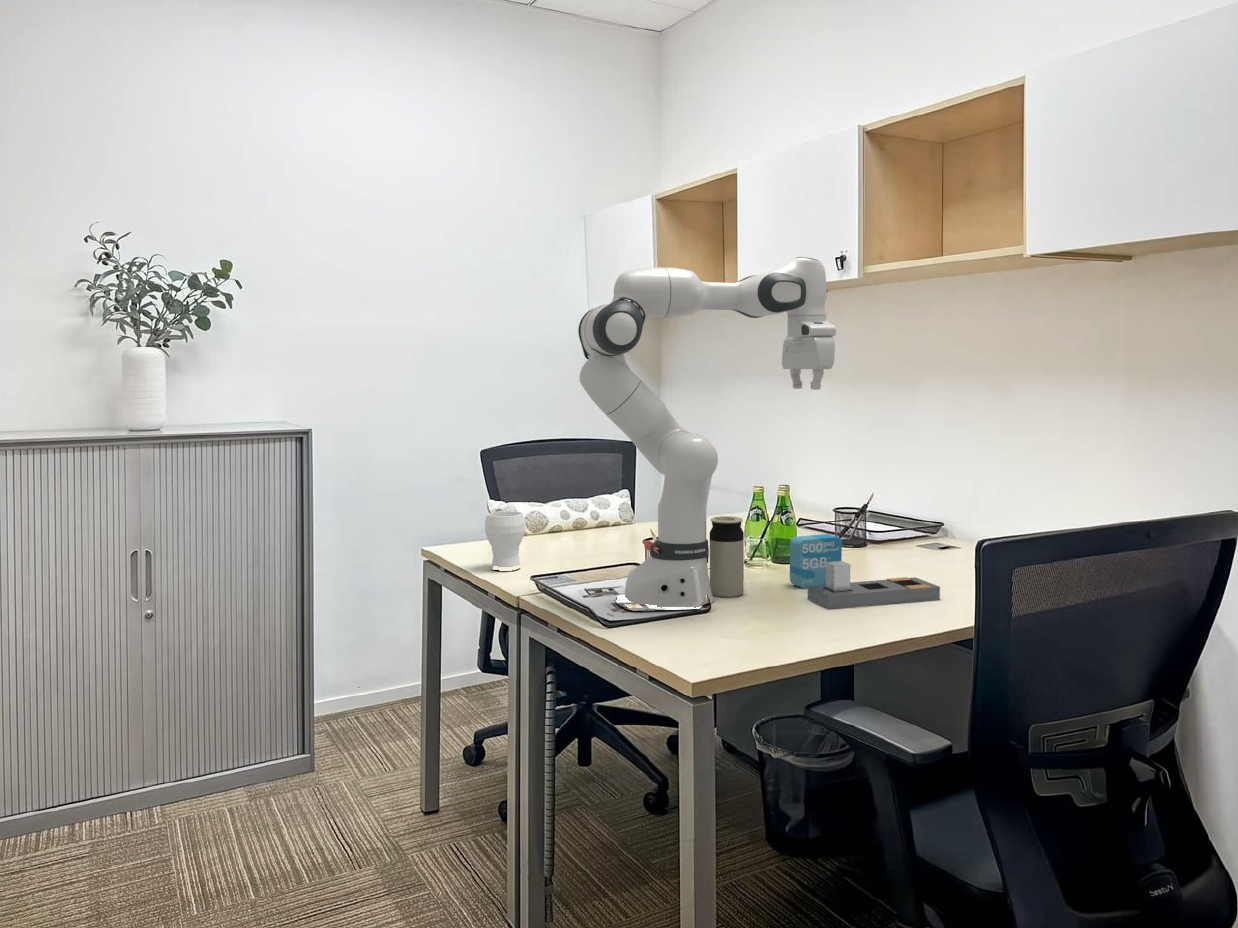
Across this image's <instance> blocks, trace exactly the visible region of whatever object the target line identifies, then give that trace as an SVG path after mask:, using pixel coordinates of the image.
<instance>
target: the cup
mask: <svg viewBox="0 0 1238 928" xmlns="http://www.w3.org/2000/svg"><path fill="white" fill-rule="evenodd" d="M525 532H526V521H525V517H524V514H523V512H521V511H515V510H501V511H492V512H489V513H486V517H485V522H484V533H485V534H486V537H487V541H488V542H489V544H490V546H491V550H492V563H491V566H492V565H493V566H498V567H513V566H518V565H520V566H521V562H520V557H519V553H520V552H519V551H520V545H521V543H522V541H523V539H524V535H525Z"/></svg>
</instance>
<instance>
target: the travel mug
mask: <svg viewBox="0 0 1238 928" xmlns="http://www.w3.org/2000/svg"><path fill="white" fill-rule="evenodd" d="M743 520H744V519H743V518H742V517H739V516H733V515H732V516H728V515H727V516H725V515H724V516H723V515H722V516H721V515H720V516H714V517H713V516H712V517H711V518H710V521H711V524H712V526H711V529H710V530H709V582H710V587H711V592H712V595H713V597H717V598H736V597H737V598H738V597H740V596H742V595H743V594H744V592H745V591H744V590H745V589H744V588H745V586H744V585H745V583H744V582H745V578H744V575H745V572H744V571H745V569H744V565H745V563H744V560H745V559H744V558H745V556H744V555H745V554H744V552H745V551H744V545H745V544H744V543H745V539H744V536H745V534H744V533H745V532H744V530H743V528H742V527H741V526H742V522H743Z"/></svg>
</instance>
